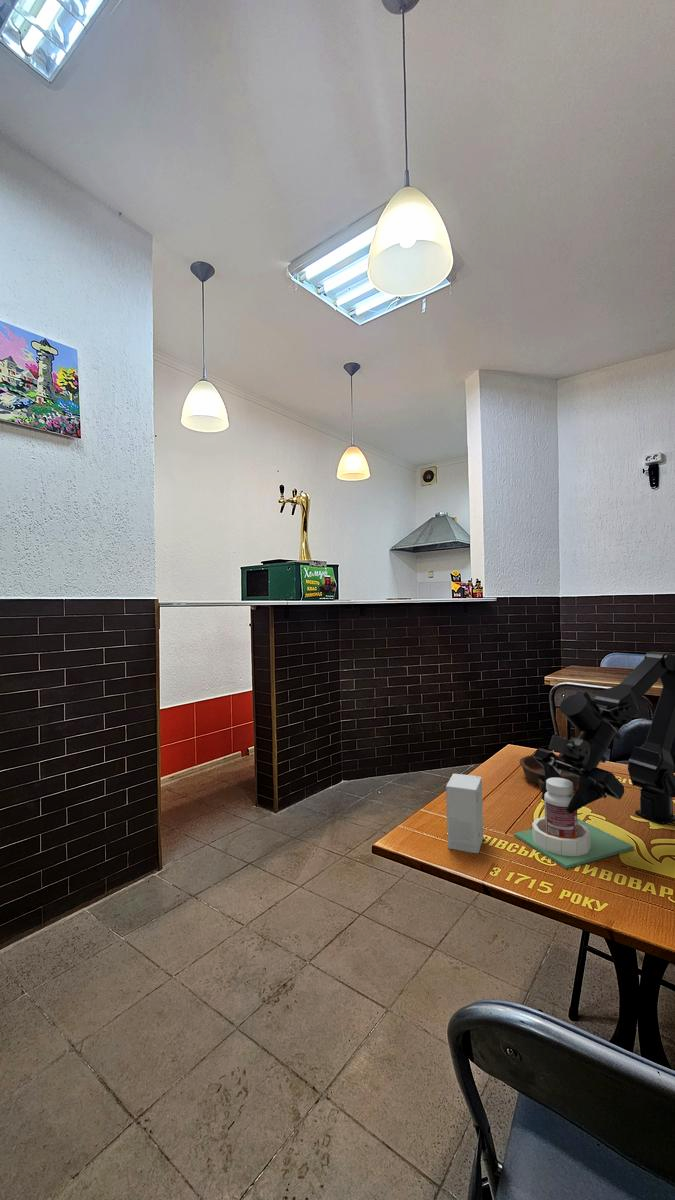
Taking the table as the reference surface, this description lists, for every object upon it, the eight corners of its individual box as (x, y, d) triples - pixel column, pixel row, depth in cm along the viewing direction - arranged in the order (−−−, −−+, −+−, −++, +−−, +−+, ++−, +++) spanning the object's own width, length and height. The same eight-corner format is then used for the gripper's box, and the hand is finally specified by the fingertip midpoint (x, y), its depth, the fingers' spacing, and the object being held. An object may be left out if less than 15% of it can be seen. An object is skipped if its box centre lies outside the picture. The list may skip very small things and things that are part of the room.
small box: (454, 831, 107) (452, 772, 107) (484, 836, 104) (482, 776, 104) (446, 848, 100) (445, 785, 100) (478, 854, 97) (476, 789, 97)
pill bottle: (583, 844, 97) (581, 787, 96) (551, 843, 97) (549, 787, 97) (571, 829, 103) (569, 776, 103) (541, 829, 103) (539, 776, 103)
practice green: (577, 820, 111) (576, 804, 111) (633, 849, 98) (633, 831, 98) (514, 836, 104) (513, 819, 104) (566, 868, 91) (565, 849, 91)
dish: (511, 788, 131) (510, 770, 131) (528, 764, 149) (528, 748, 149) (582, 801, 121) (582, 781, 121) (592, 774, 140) (591, 757, 140)
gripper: (537, 712, 110) (500, 769, 106) (612, 731, 93) (572, 800, 89) (563, 741, 113) (529, 797, 109) (641, 765, 96) (604, 833, 92)
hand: (555, 805), depth 99 cm, fingers closed on pill bottle, 6 cm apart
